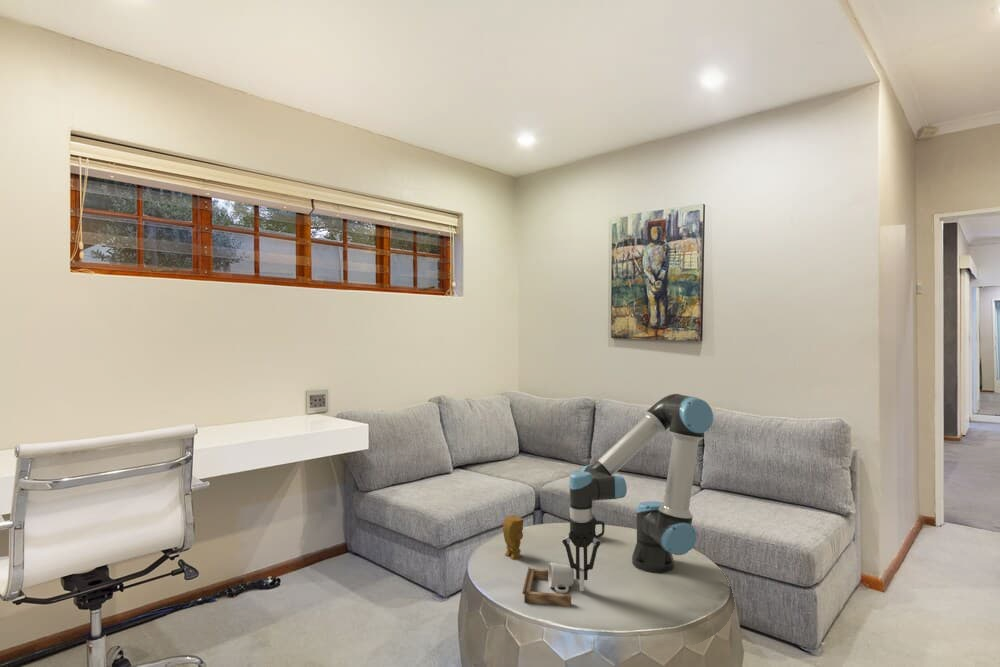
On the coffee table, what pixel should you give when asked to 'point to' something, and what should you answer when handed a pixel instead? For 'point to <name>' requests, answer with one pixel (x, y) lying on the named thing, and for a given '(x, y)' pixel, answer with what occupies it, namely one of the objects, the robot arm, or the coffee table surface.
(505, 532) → the figurine
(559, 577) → the cup
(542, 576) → the brown wooden open frame
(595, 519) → the mug
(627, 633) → the coffee table surface
